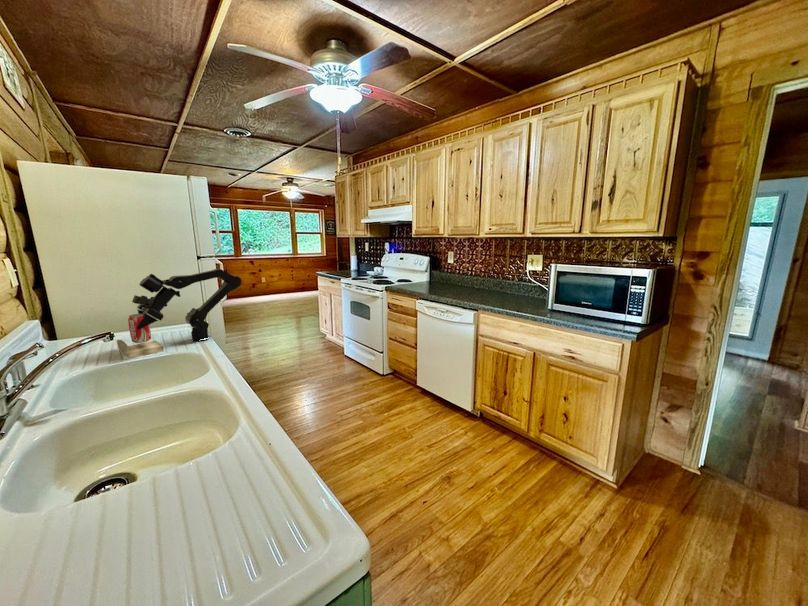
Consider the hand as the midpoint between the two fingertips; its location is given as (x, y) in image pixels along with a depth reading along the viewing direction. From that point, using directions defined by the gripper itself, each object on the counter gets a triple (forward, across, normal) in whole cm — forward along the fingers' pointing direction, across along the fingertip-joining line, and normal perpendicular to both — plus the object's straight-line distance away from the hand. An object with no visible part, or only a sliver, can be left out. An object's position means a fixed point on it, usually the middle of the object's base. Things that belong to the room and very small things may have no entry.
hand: (135, 327), depth 143 cm
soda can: (+4, 0, +6) cm, 7 cm away
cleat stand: (+7, 0, +9) cm, 12 cm away
